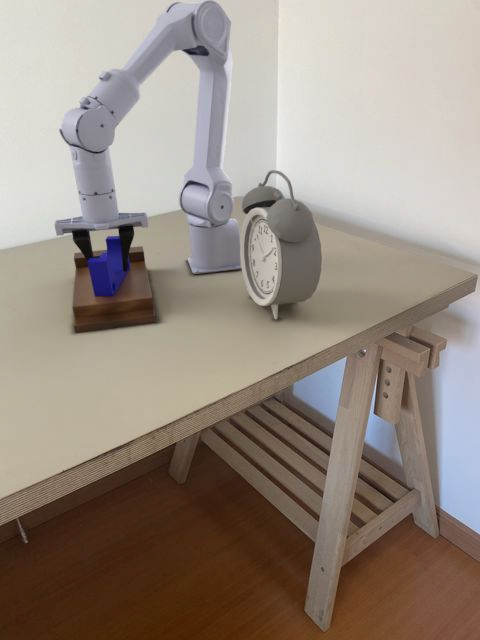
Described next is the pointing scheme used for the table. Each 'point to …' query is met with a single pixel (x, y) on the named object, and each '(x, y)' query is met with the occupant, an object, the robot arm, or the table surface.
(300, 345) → the table surface
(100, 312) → the step shelf
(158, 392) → the table surface
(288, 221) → the alarm clock
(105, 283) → the blue curved notched block
